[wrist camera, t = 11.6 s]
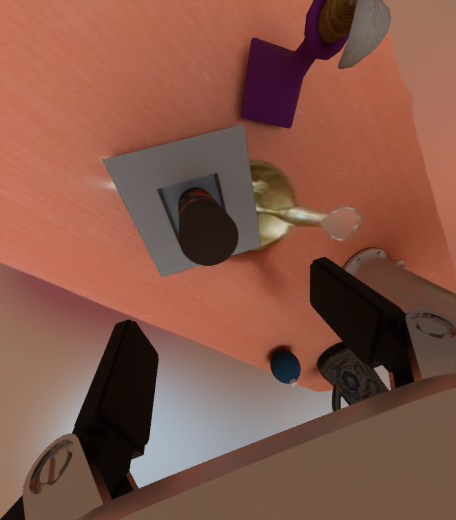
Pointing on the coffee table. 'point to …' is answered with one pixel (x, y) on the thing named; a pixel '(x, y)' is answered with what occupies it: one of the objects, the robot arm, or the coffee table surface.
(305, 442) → the robot arm
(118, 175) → the socket block
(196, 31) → the coffee table surface
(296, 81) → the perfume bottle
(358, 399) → the beer stein
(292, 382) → the christmas ornament
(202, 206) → the deodorant
